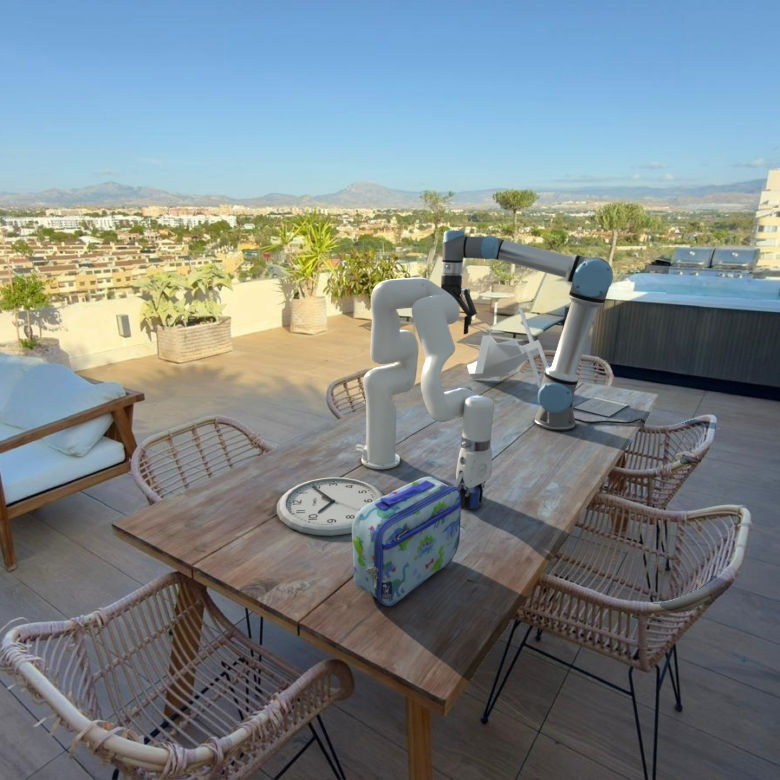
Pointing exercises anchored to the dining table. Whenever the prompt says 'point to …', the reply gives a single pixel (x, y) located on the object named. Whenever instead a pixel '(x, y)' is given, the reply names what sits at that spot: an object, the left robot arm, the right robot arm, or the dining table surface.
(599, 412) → the invitation card
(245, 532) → the dining table surface
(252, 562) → the dining table surface
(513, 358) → the white plastic object
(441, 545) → the lunch box
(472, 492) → the can
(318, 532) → the wall clock
